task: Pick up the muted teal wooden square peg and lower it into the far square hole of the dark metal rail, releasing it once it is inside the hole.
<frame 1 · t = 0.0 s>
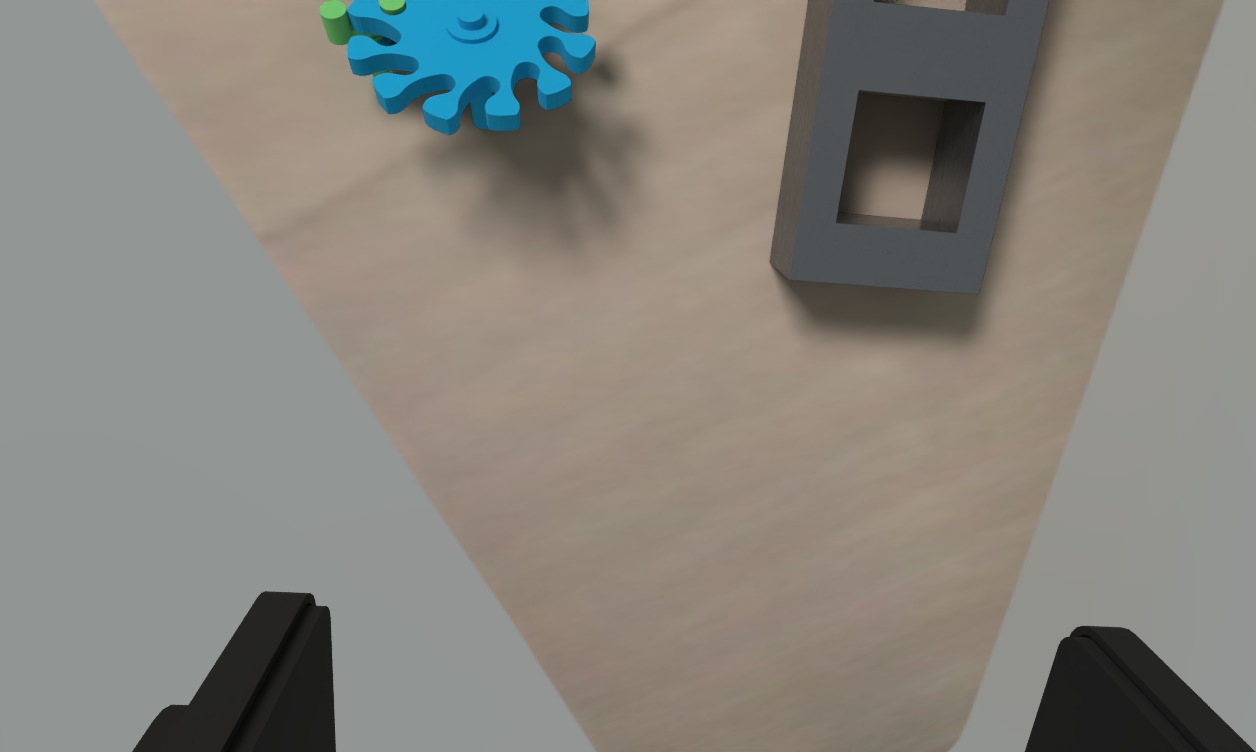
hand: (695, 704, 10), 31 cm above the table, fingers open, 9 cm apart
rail: (895, 57, 37), on the table
gear: (471, 39, 36), on the table
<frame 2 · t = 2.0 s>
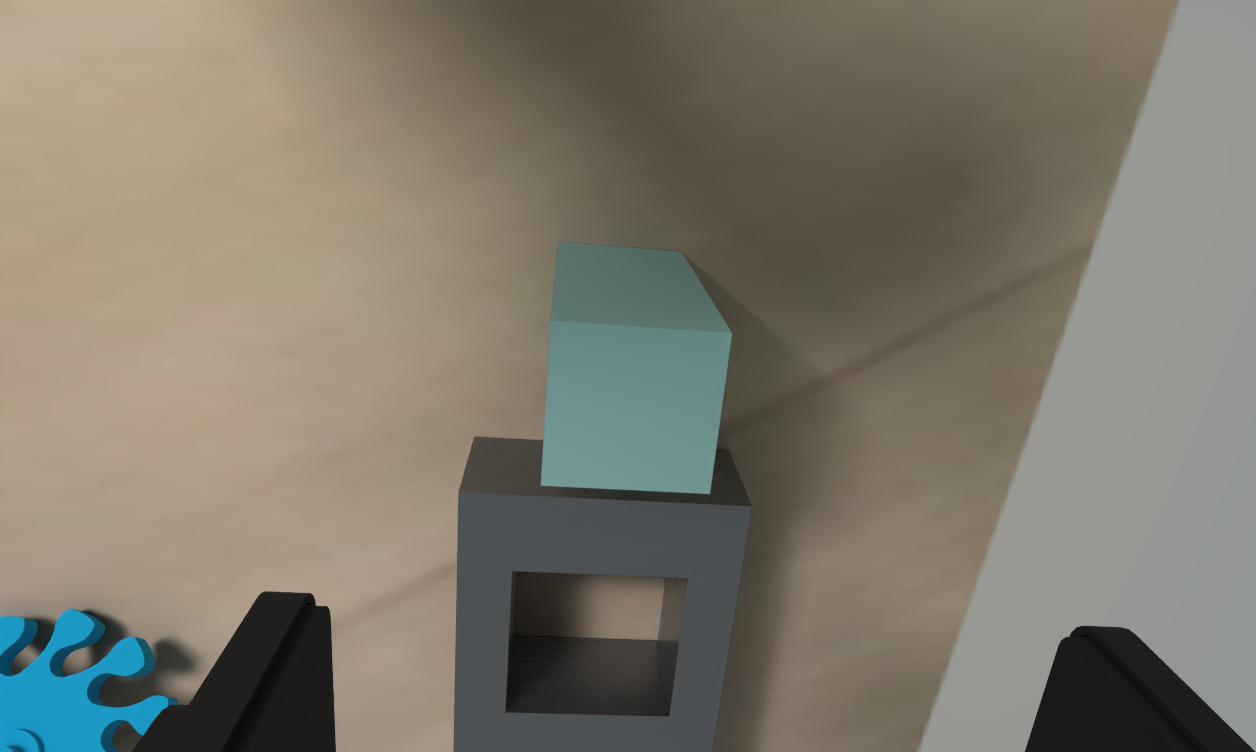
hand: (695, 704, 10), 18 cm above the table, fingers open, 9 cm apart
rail: (583, 673, 32), on the table
peg: (615, 306, 27), on the table
gear: (69, 679, 31), on the table
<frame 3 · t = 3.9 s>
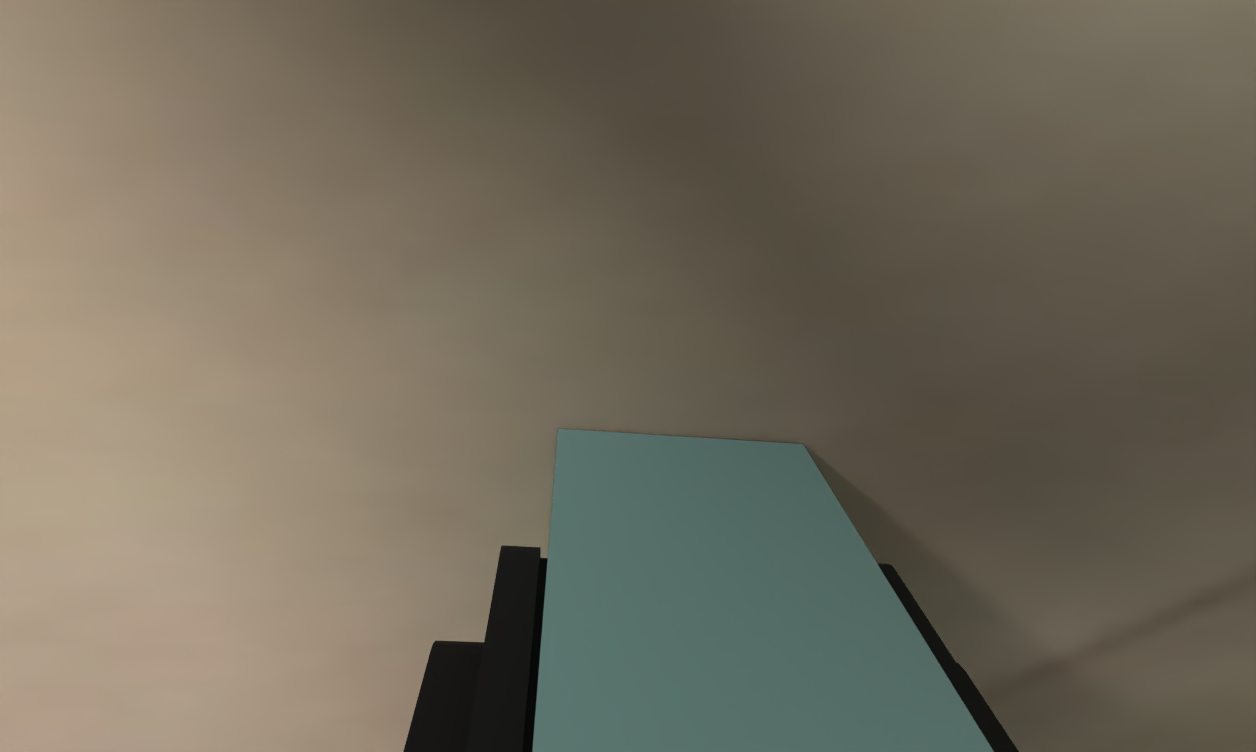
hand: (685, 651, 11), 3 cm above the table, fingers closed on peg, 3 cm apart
peg: (668, 544, 14), on the table, touching gripper
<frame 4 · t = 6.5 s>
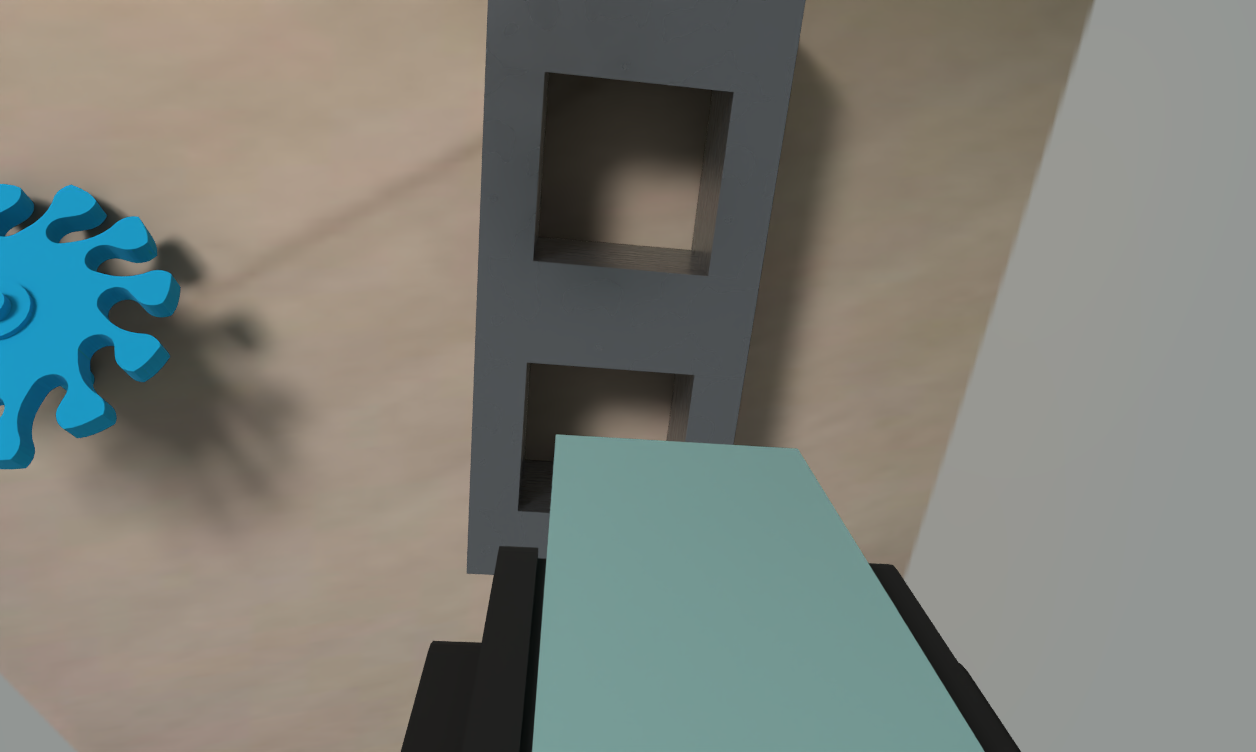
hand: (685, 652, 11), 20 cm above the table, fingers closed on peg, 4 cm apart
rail: (611, 288, 30), on the table
peg: (665, 548, 14), point 17 cm above the table, touching gripper
gear: (62, 285, 29), on the table
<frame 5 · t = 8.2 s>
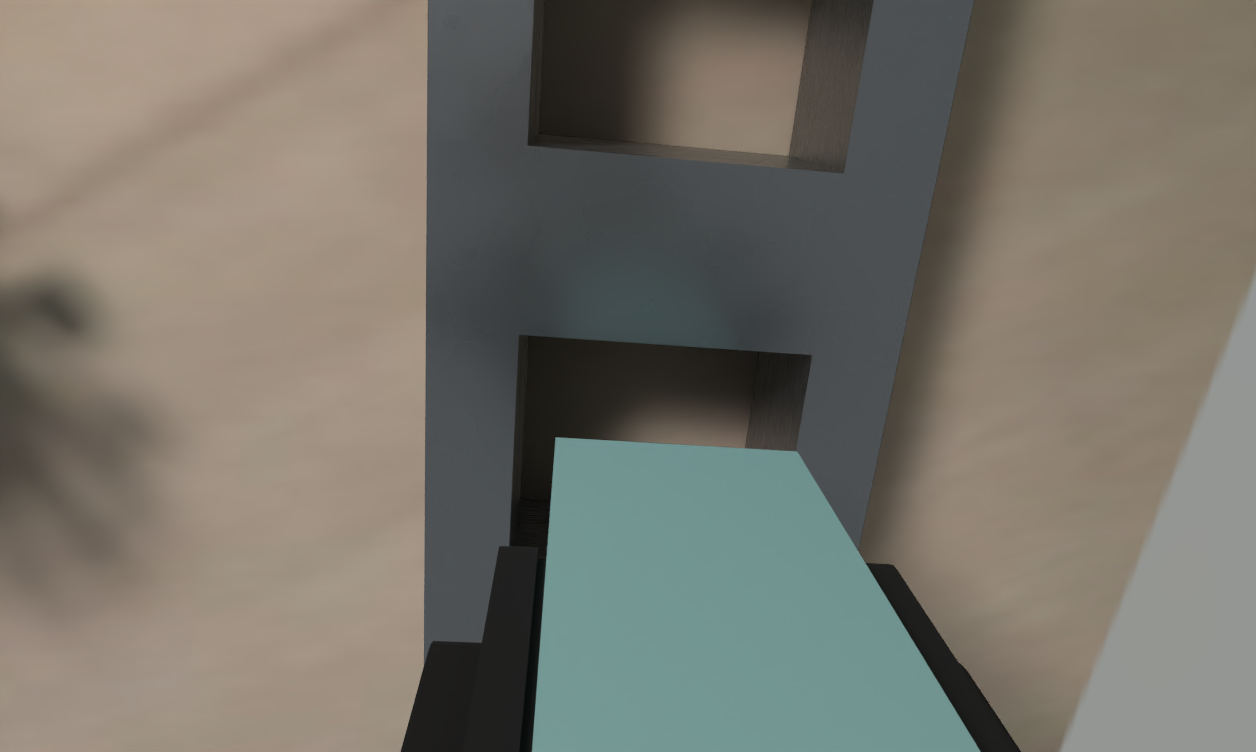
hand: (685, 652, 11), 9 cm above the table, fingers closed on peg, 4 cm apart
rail: (657, 222, 18), on the table
peg: (665, 551, 14), point 6 cm above the table, touching gripper
when the fingers open (5 cm above the table, at t = 9.4 s): peg drops 2 cm, resting in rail.
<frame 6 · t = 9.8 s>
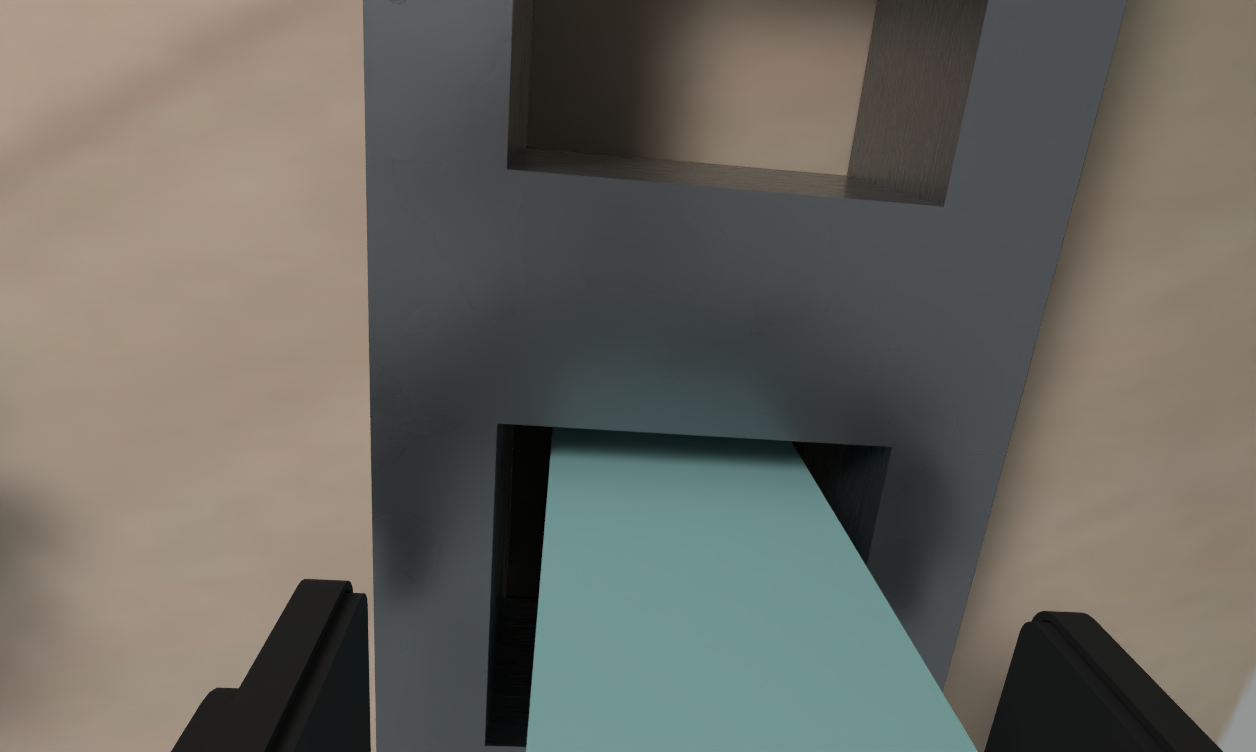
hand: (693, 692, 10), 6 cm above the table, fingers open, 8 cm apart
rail: (679, 259, 14), on the table
peg: (651, 485, 16), resting in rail
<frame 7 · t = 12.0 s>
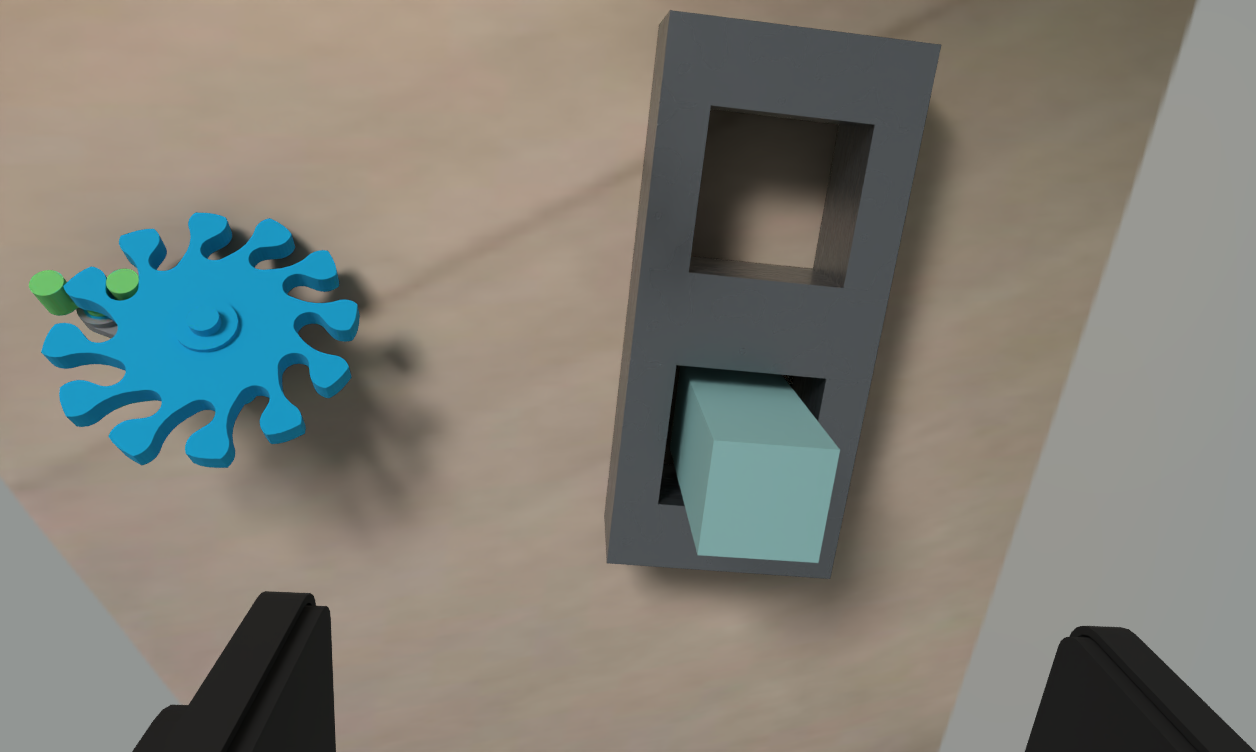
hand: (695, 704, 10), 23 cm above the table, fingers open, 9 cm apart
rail: (738, 303, 33), on the table
peg: (721, 407, 34), resting in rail
gear: (241, 305, 32), on the table
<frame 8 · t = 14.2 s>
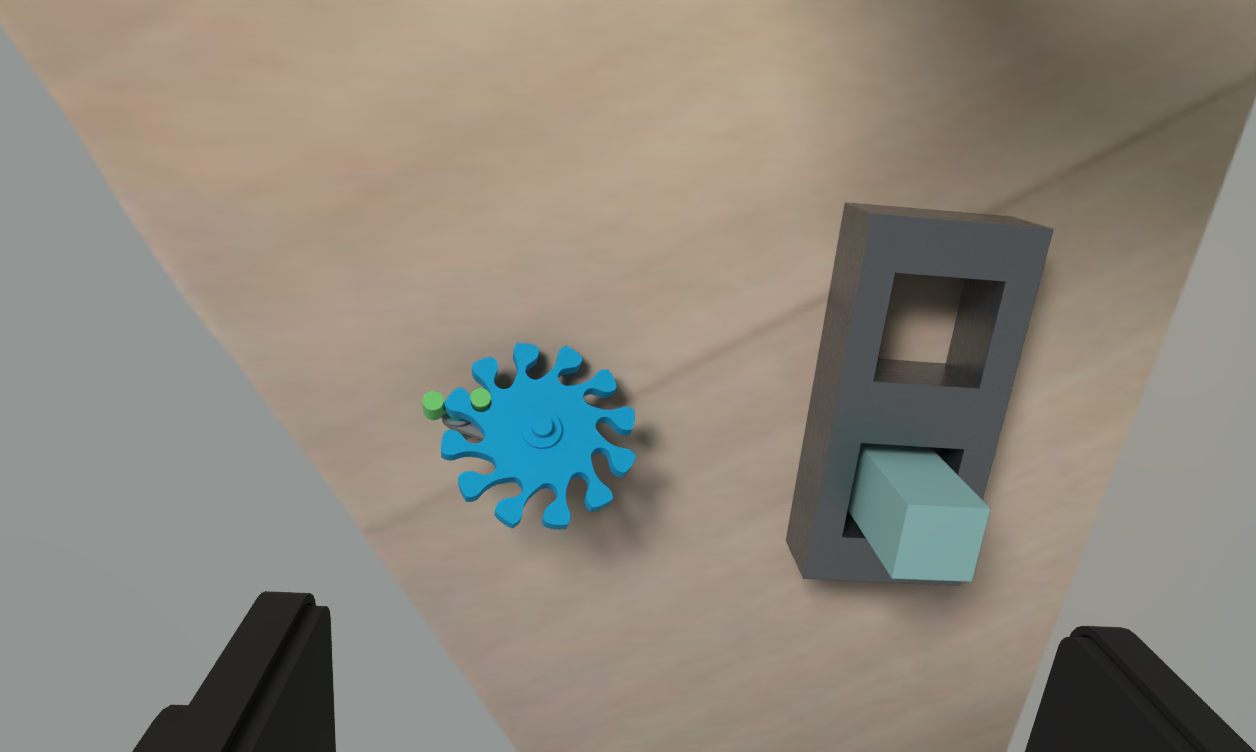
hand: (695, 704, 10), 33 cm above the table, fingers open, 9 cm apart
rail: (891, 389, 45), on the table
peg: (875, 462, 47), resting in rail
gear: (534, 402, 45), on the table
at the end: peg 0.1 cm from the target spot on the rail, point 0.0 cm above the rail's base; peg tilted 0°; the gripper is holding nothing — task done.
